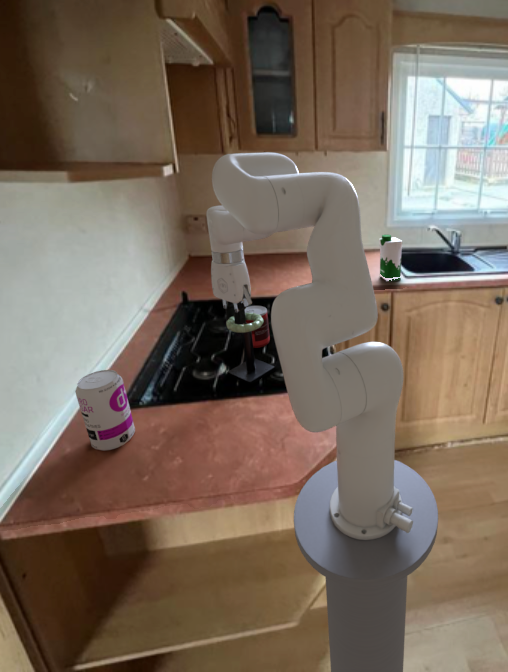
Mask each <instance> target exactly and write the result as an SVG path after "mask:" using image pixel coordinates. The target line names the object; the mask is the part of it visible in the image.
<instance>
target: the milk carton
mask: <svg viewBox="0 0 508 672" xmlns="http://www.w3.org/2000/svg"><path fill="white" fill-rule="evenodd" d="M378 241H379V275H380V274H381V275H382V276H383V277H385V278H393V277H400V276H402V249H403V248H402V247H403V240H402V239H399V238H397V237H394V236H393V237H392V235H391V234H382V235H381V238H379V239H378ZM401 279H402V277H401V278H398V279H395V280H394V279H392V281H391V280H389V282H396V281H397V282H398V281H401Z"/></svg>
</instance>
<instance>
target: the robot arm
mask: <svg viewBox="0 0 508 672" xmlns="http://www.w3.org/2000/svg"><path fill="white" fill-rule="evenodd" d="M211 183H212V185H211V186H212V189H213V190H212V191H213V192H214V195H215V197H216V199H217V201H218V202H219V203H220V204H221V205H215V206H214V205H213V206H211V207H209V208H207V210H206V223H207V231H208V237H209V244H210V250H211V257H212V260H211V264H210V265H211V266H210V279H211V289H212V294H213V296H214V297H215V298H216V299H219V300H220V301H221V303H222V306H223V309H225V317H226V322H227V321H228V319H229V318H230V317H232V316H234V320H235V324H240V325H242V324H243V323H245V322H246V316H245V309H246V307H250V306H252V305H253V301H252V298H251V297H252V289H251V288H252V286H251V280H250V275H249V270H248V266H247V264H246V261H245V254H244V245H243V243H245V242H252V241H257V240H264V239H268V238H269V237H271V236H273V235H274V234H277V233H282V232H289V231H295V230H302V229H306V228H313V229H312V231H311V233H310V236H309V239H308V242H307V247H306V256H307V262H308V266H309V268H310V274H311V282H309V283H304V284H301V285H296V286H294V287H289V288H287V289H285V290H283V291H281V292H280V293H279V294H278V295H277V296H276V297H275V298H274V300H273V302H272V306H271V311H270V323H271V330H272V336H273V339H274V343H275V348H276V352H277V356H278V360H279V363H280V367H281V372H282V376H283V380H284V384H285V387H286V392H287V397H288V400H289V403H290V406H291V409H292V412H293V414H294V416H295V419H296V421H297V423H298V424H299V425H300V426H301V427H302V428H303V429H304V430H305V431H307V432H310V433H322V432H326V431H327V430H330V429H332V428H334V427H335V445H336V447H335V449H336V461H337V475H338V487H337V488H336V489H335V491H334V492H333V494H332V496H331V500H330V515H331V518H332V521H333V523H334V524H335V526H336V527H337V528H338V529H339V530H340V531H341V532H342V533H344V534H345V535H347V536H349V537H351V538H355V539H359V540H372V539H376V538H380V537H382V536H384V535H386V534H388V533H389V532H391V531H392V530H393V529H394V528H395V527H396V526H397V527H398V528H399V529H401V530H403V531H405V532H406V533H409V532H410V530H411V528H412V525H413V521H412V520H410V519H408V518H406V517H405V516H402V513H404V514H406V515H408V516H410V515H411V513H412V510H413V508H412V507H410V506H408V505H406V504H403V503H402V500H401V496H400V494H399V489H397V488H395V487H394V460H395V454H396V453H395V449H396V426H397V424H396V423H397V413H398V407H399V404H400V399H401V395H402V392H403V391H402V390H403V386H404V368H403V363H402V360H401V358H400V356H399V354H398V353H397V351H396V350H394V348H393V347H392V346H390V345H388V344H386V343H384V342H380V341H368V342H362V343H359V344H356V345H353V346H351V347H348V348H345V349H342V350H340V351H337V352H335V353H333V354H330V355H327V356H323V350H324V349H327V348H330V347H332V346H335V345H337V344H341V343H343V342H347V341H349V340H352V339H355V338H357V337H360V336H362V335H365V334H366V333H368V332H370V331H372V330H373V329H374V328H375V326H376V325H377V323H378V318H379V313H378V311H379V310H378V303H377V299H376V294H375V289H374V286H373V281H372V277H371V272H370V269H369V268H370V267H369V265H368V259H367V256H366V251H365V248H364V244H363V239H362V238H363V237H362V222H361V220H362V217H361V207H360V201H359V197H358V194H357V191H356V189H355V186H354V185H353V184H352V182H351V181H350V180H349V179H348V178H347V177H345V176H344V175H342V174H339V173H336V172H328V171H312V172H299V169H298V167H297V164H296V163H295V162H294V161H293V160H292V159H291V158H290V157H288V156H286V155H284V154H282V153H278V152H271V151H270V152H269V151H268V152H266V151H265V152H241V153H238V152H237V153H236V152H235V153H226V154H224V155H221V156H220V157H219V158H218V159H217V160H216V161H215V162H214V165H213V168H212V172H211Z"/></svg>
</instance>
